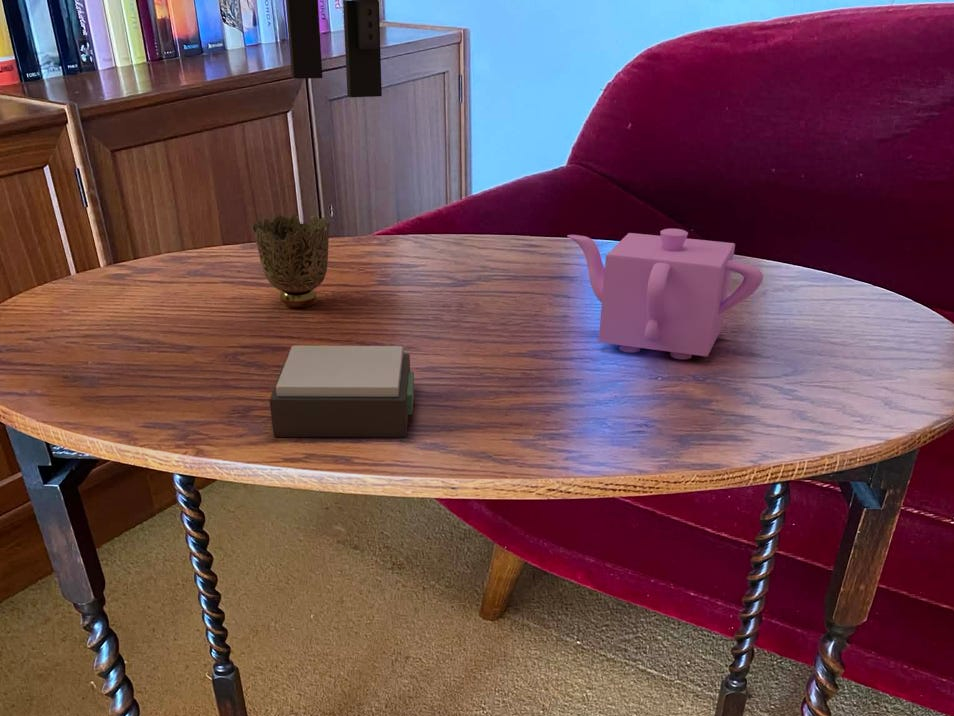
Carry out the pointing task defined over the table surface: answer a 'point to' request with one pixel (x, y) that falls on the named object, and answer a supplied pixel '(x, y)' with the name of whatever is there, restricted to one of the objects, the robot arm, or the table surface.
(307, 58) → the robot arm
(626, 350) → the teapot
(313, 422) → the scale
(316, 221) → the cup
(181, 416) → the table surface
